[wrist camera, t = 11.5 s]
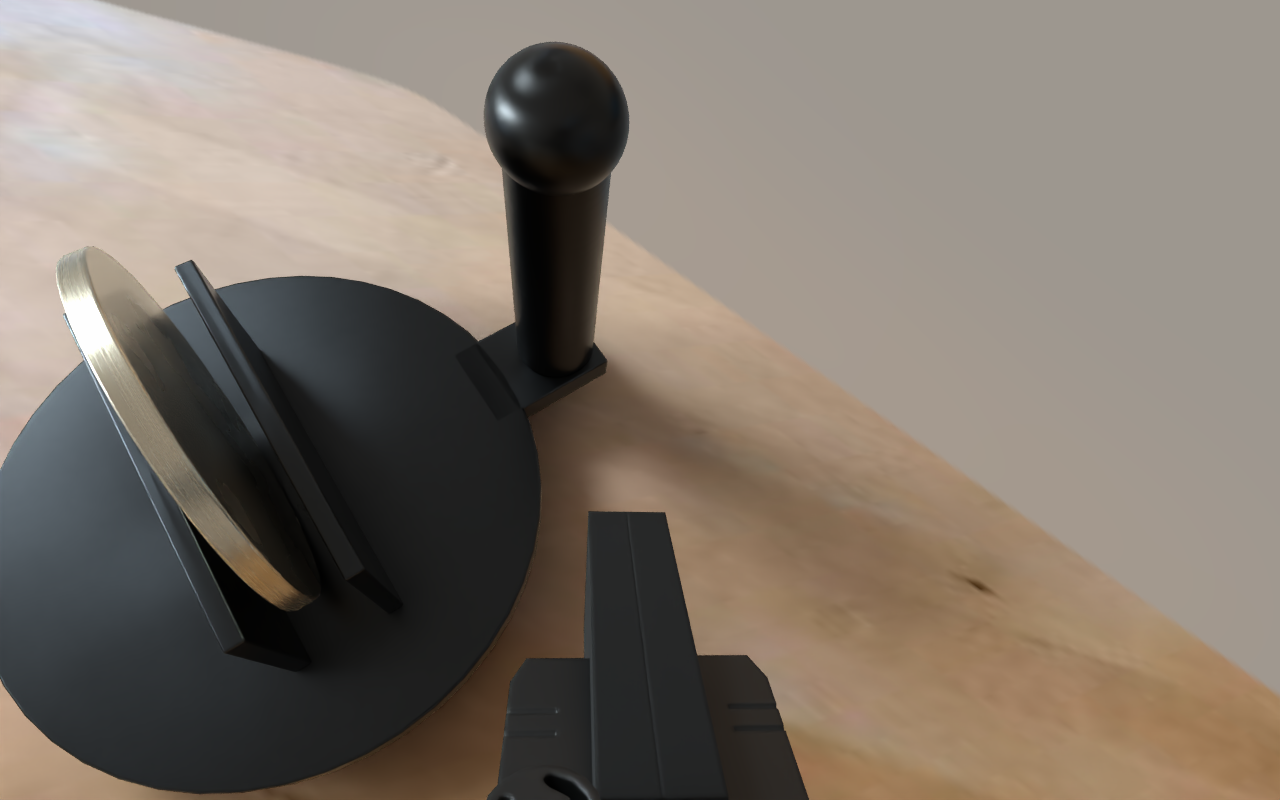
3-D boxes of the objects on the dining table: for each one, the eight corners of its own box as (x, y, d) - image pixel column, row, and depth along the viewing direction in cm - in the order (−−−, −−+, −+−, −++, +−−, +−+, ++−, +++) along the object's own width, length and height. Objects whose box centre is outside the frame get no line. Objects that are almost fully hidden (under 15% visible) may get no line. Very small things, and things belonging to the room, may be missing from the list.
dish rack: (480, 186, 29) (434, -174, 18) (724, 515, 25) (875, 317, 13) (-74, 434, 23) (-702, 127, 12) (115, 935, 19) (-610, 1257, 7)
